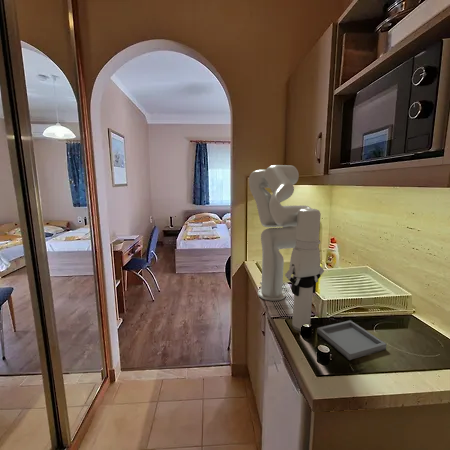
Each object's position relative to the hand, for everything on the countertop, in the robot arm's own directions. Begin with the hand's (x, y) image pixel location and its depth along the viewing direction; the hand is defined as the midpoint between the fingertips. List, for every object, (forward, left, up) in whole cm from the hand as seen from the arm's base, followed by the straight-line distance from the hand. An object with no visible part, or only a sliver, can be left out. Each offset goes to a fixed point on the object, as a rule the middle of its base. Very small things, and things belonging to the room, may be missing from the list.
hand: (303, 292), depth 97 cm
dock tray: (+12, +11, -14) cm, 21 cm away
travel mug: (0, 0, -14) cm, 14 cm away
